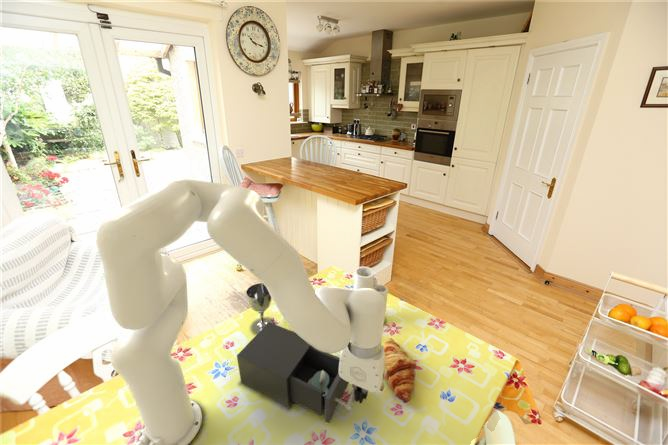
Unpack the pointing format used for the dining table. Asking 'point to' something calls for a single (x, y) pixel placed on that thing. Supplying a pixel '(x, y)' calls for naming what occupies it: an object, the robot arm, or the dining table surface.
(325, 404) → the drawer
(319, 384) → the pacifier
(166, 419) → the robot arm
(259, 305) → the wine glass
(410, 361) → the croissant
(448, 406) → the dining table surface
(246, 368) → the cabinet
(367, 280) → the vase
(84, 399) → the dining table surface
